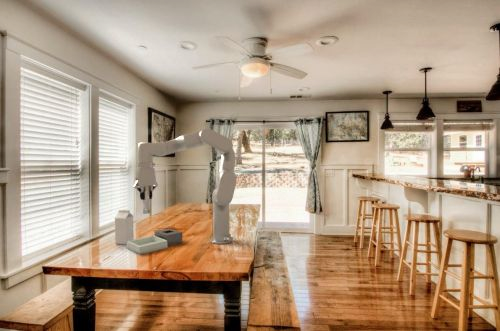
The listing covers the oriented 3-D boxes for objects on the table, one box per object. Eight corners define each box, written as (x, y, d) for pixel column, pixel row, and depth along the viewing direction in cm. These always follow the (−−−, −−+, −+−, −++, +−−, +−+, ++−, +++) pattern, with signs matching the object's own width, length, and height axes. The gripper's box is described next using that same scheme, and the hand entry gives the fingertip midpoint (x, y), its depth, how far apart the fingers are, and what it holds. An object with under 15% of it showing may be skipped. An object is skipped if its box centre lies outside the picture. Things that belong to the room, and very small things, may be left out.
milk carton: (126, 244, 162) (125, 211, 162) (115, 244, 163) (114, 211, 163) (133, 241, 169) (133, 209, 168) (123, 240, 170) (122, 209, 170)
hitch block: (182, 242, 165) (182, 232, 165) (166, 246, 158) (166, 235, 158) (169, 238, 175) (169, 228, 175) (154, 241, 168) (154, 231, 168)
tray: (167, 247, 155) (167, 240, 155) (139, 254, 144) (139, 247, 144) (153, 242, 166) (153, 235, 166) (126, 248, 155) (126, 241, 155)
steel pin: (151, 212, 155) (150, 183, 154) (144, 213, 152) (144, 184, 152) (148, 212, 157) (147, 183, 157) (141, 213, 155) (141, 183, 154)
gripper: (156, 165, 163) (157, 197, 163) (127, 165, 151) (128, 200, 151) (163, 165, 158) (163, 198, 158) (133, 165, 146) (134, 201, 146)
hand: (146, 198), depth 155 cm, fingers closed on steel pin, 3 cm apart
